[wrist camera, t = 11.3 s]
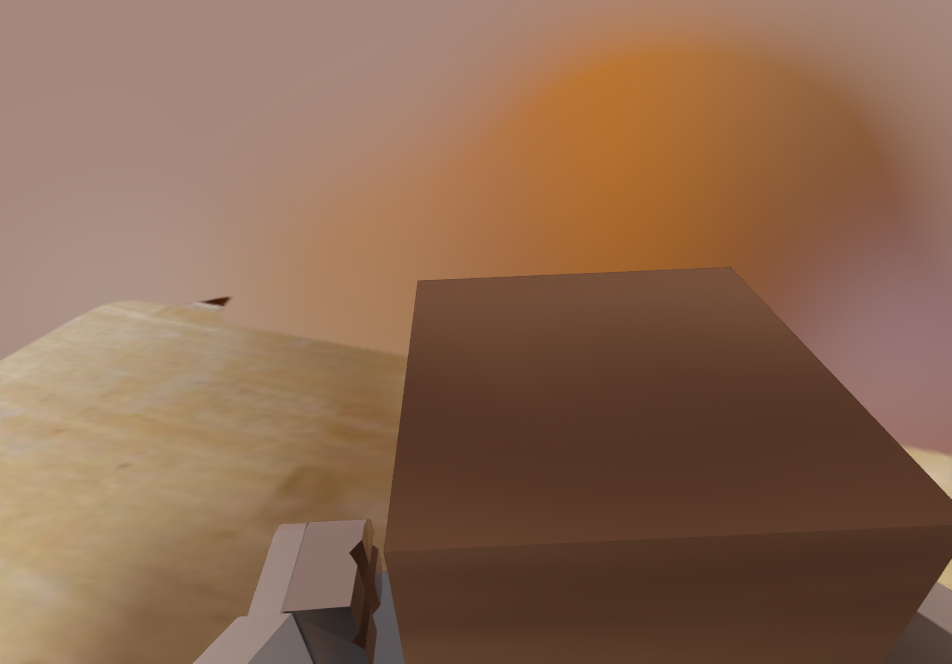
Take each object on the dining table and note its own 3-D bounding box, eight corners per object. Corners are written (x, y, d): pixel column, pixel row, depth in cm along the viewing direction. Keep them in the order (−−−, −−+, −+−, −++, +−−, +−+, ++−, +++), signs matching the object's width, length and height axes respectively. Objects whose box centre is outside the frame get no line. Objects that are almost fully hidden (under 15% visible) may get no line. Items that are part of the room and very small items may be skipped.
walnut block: (456, 675, 15) (417, 280, 9) (639, 666, 15) (730, 267, 9) (456, 940, 11) (384, 551, 5) (709, 926, 11) (974, 523, 5)
